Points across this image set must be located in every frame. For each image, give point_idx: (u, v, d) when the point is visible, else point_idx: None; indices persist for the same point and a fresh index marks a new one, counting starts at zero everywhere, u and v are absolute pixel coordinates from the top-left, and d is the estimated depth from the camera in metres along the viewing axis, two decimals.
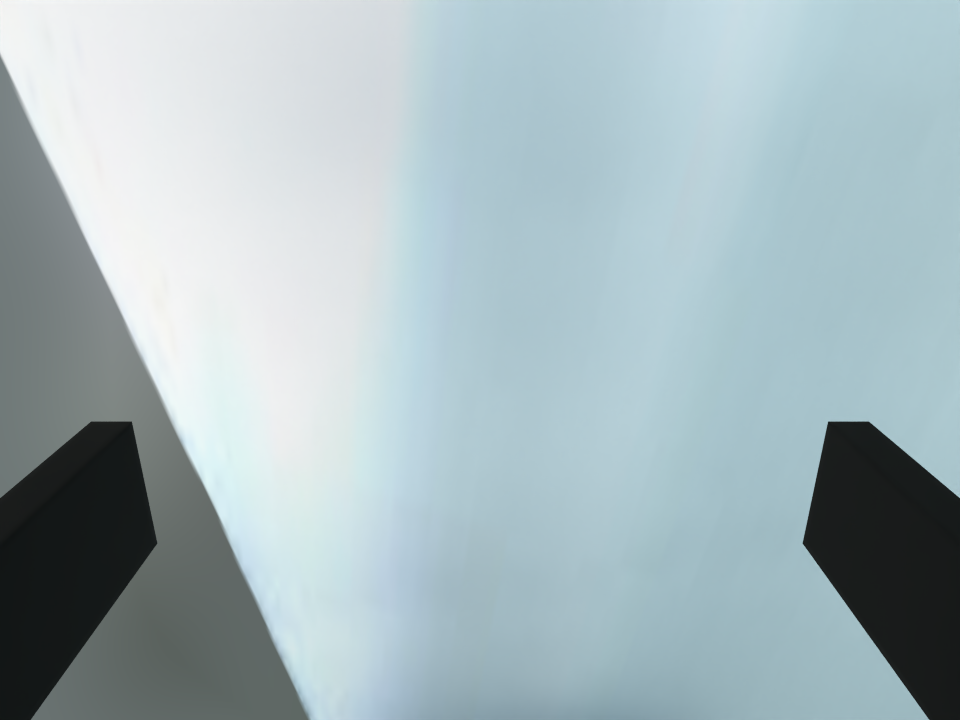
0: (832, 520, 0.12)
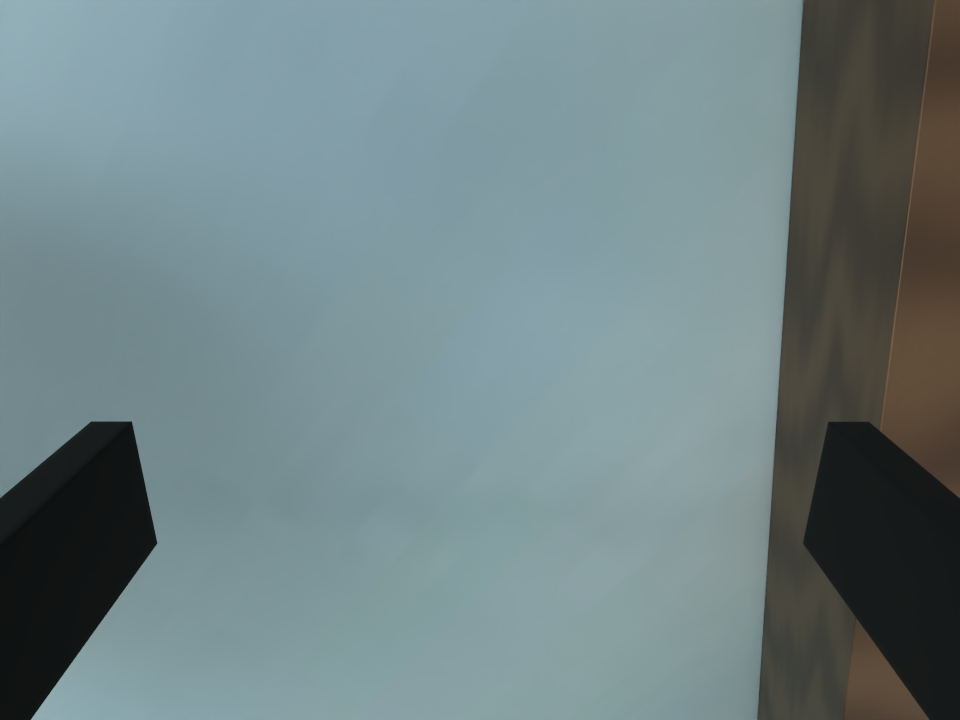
0: (832, 520, 0.12)
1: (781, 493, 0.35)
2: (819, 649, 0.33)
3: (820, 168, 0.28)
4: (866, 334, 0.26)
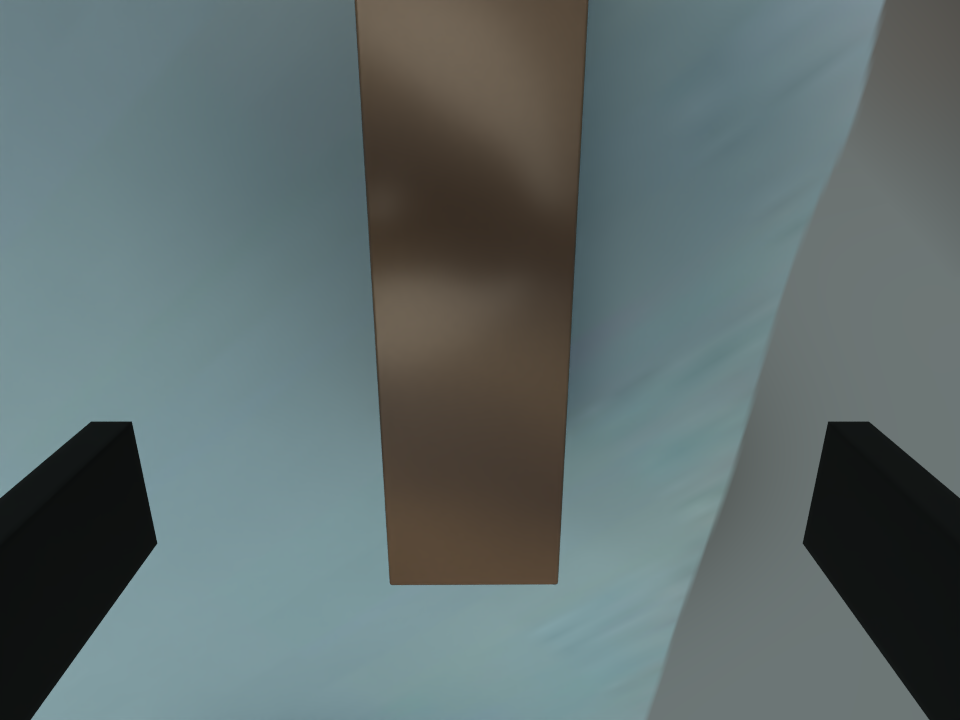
0: (832, 520, 0.12)
1: None
2: None
3: None
4: None
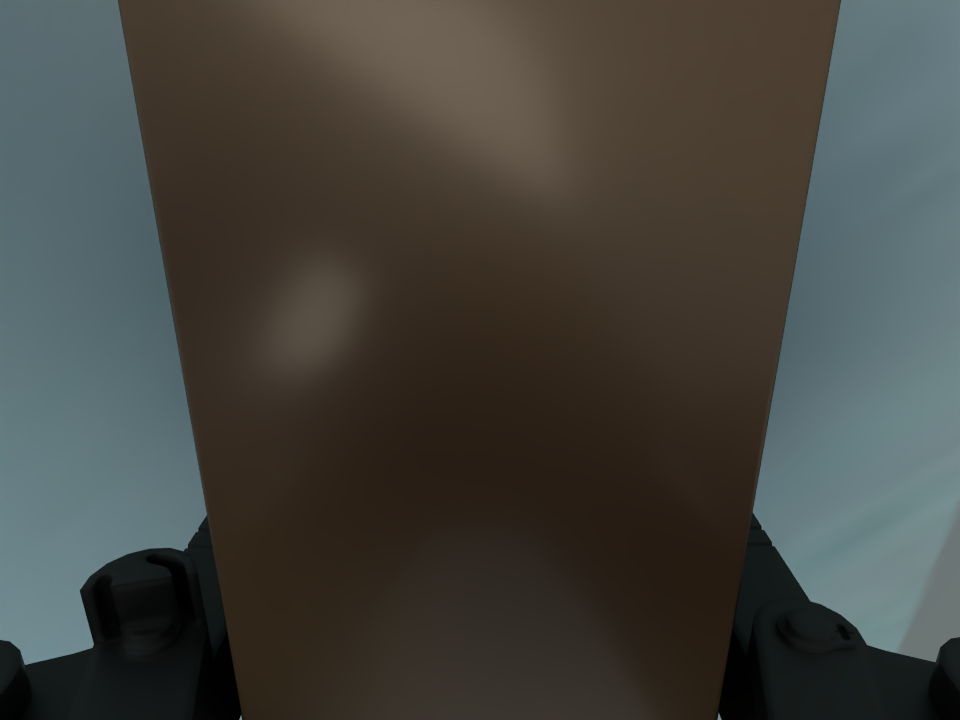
0: None
1: None
2: None
3: None
4: None
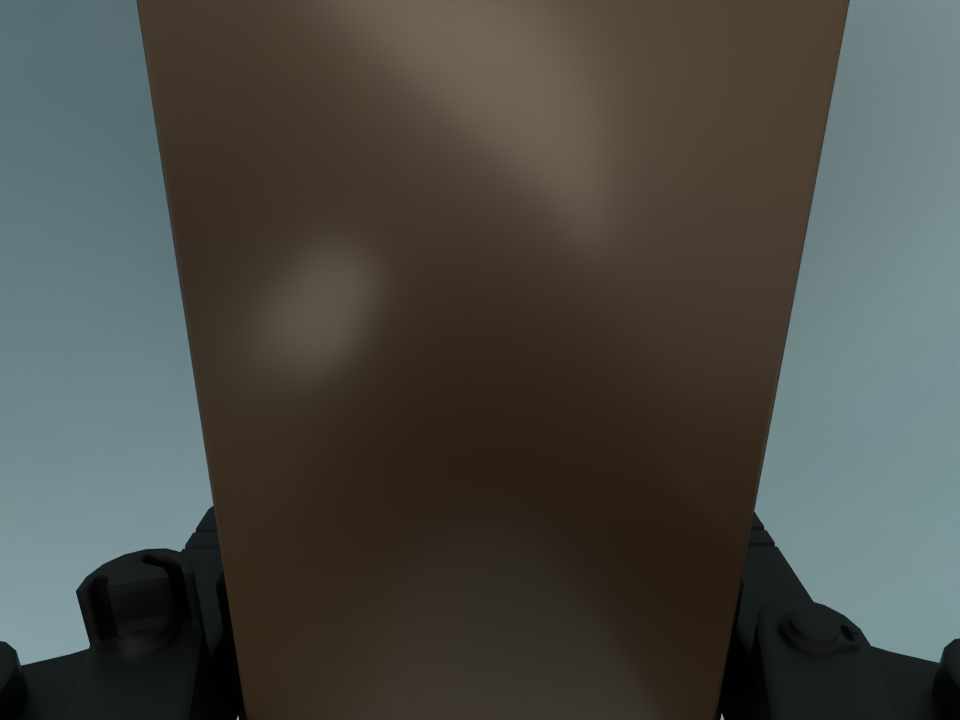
0: None
1: None
2: None
3: None
4: None
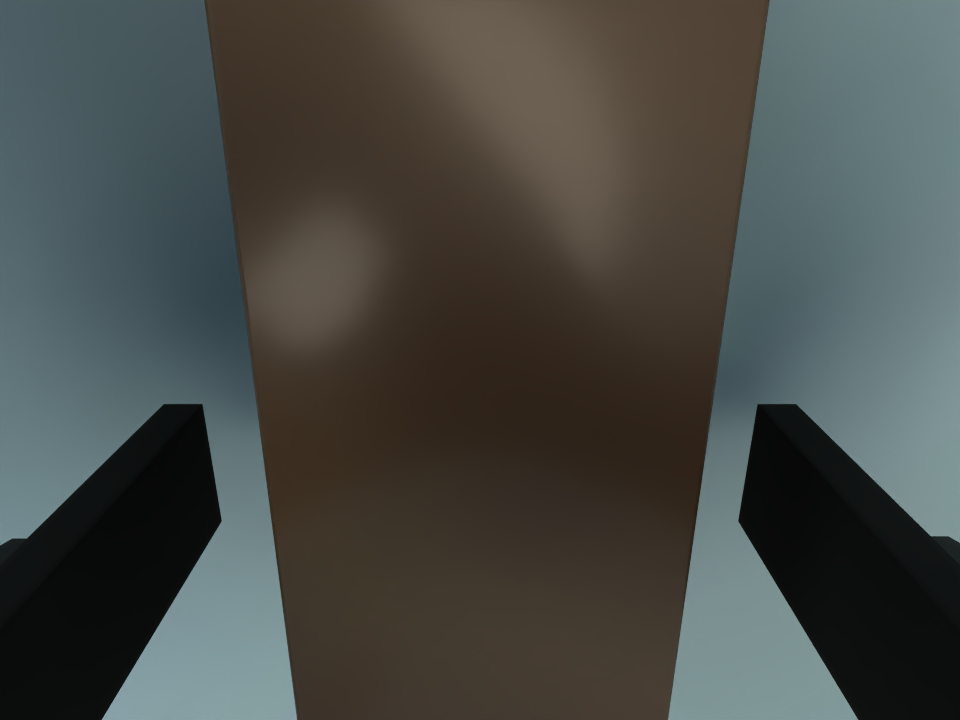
0: (760, 497, 0.13)
1: None
2: None
3: None
4: None
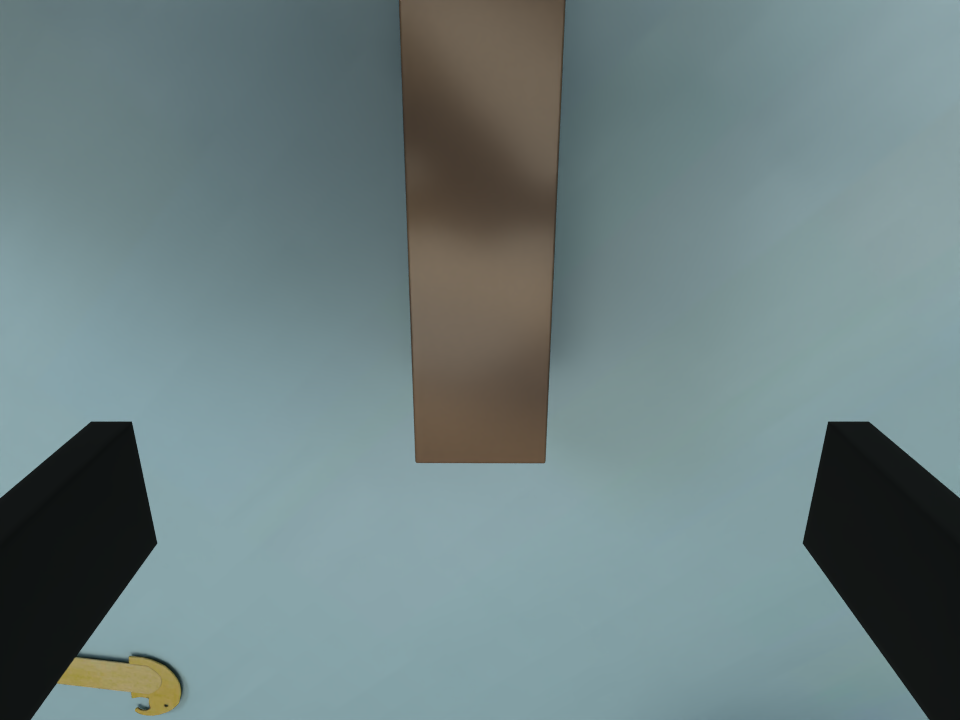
0: (832, 520, 0.12)
1: None
2: None
3: None
4: None
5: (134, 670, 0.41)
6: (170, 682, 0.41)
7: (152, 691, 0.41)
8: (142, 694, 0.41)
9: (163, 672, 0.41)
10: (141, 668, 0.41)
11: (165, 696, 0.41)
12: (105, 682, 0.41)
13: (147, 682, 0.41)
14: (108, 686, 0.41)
